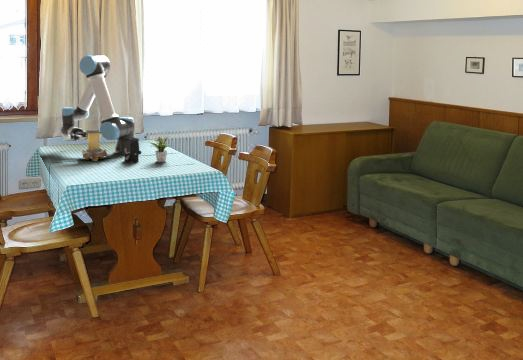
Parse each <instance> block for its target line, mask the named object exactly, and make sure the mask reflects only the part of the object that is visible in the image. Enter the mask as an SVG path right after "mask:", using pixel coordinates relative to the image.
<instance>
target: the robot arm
mask: <svg viewBox="0 0 523 360" xmlns="http://www.w3.org/2000/svg"><path fill="white" fill-rule="evenodd" d="M78 66H79V70H80V72H81V73H82V74H83V75H85V76H86V80H88V83H87V85H86V87H85V89H84V92H83V94H82V96H81V97H80V100H79V102H78V104H77V106H76V108H74V107H72V106H65V107H62V109H61V119H62V120H61V121H62V126H61V128H60V133H61V135H62V136H63V137H65V138H69V139H70V140H73V141H77V140H79V141H83V139H85V138H88V134H87V131H85V130H83V128H81V127H77V126H76V124H75V123H76V122H77V121H82V120H86V119H87V118H89V116H90V108H91V105H92V104H93V101H94V100H96V103H97V106H98V109H99V112H100V115H101V120H100V123H101V125H100V127H99V139H105V140H108V141H116V142H115V146H114V154H116V155H117V154H118V155H124V152H125V148H126V152H127V153H128V152H130V142H131V141H130V139H131V138H136V129H135V128H136V127H135V119H134V118H133V117H128V116H127V117H126V116H125V117H123V116H119V115H118V114H116V111H115V108H114V105H113V102H112V99H111V95H110V92H109V89H108V87H107V83H106V80H105V79H106V78H107V77H108V75H109V73H110V69H111V62H110V60H109V58H108V56H106V55H103V54H88V55H85V56H83V57H82V58H81V59H80V61H79V65H78Z"/></svg>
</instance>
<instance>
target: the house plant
mask: <svg viewBox="0 0 523 360" xmlns="http://www.w3.org/2000/svg"><path fill="white" fill-rule="evenodd" d="M169 139H170V135H169V136H168V135H167V136H164V137H162V135H157V136H156V135H155V138H154V137H152V140H153V141H154V142H155V143H154V142H149V141H148V142H147V143H149V144H150V148H151V147H154V148H155V149H156V150H155V151H154V152H155V157H156V161H157V163H164V162H167V154H168V150H165V149H166V148H167V147H169V146H171V145H170V144H166V143H167V141H169Z"/></svg>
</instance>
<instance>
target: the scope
mask: <svg viewBox="0 0 523 360" xmlns="http://www.w3.org/2000/svg"><path fill="white" fill-rule="evenodd" d="M130 141H131V142H130V152H128V153H127V152H126V148H125V152H124V154H123V155H124V156H123V158H124V162H125V163H126V164H127V163H137V162H139V156H140V155H142V151H141V150H140V143H139V141H140V139H139V138H138V137H135V138H131V139H130Z"/></svg>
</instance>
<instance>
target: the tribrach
mask: <svg viewBox="0 0 523 360" xmlns="http://www.w3.org/2000/svg"><path fill="white" fill-rule="evenodd" d="M81 152H82V153H81V154H82V158H83V159H84V160H92V162H98V161H99V159H102V160H103V159H105V157H108V153H107V150H106V149H102V151H101V152H97V153H88V152H87V150H82V151H81Z"/></svg>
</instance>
